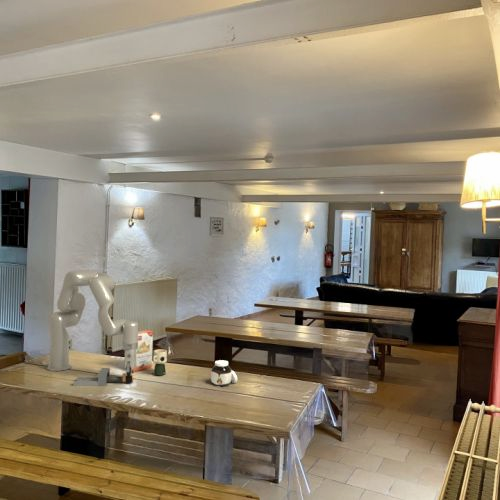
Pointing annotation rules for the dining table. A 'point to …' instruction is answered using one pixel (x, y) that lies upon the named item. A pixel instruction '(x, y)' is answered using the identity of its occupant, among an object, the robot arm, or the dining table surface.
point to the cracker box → (144, 350)
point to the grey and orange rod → (119, 378)
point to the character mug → (160, 361)
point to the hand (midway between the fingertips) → (129, 381)
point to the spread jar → (222, 374)
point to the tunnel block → (94, 379)
